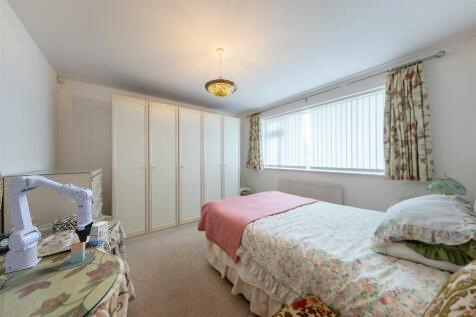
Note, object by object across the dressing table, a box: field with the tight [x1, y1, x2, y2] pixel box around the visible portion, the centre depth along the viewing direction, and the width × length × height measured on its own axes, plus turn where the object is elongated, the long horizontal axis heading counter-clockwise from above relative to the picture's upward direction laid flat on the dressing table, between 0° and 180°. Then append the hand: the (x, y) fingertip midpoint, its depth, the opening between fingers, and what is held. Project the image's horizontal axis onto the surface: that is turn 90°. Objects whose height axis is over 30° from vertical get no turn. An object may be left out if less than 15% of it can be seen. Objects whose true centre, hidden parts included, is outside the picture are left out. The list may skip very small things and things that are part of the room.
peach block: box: [70, 238, 86, 255], centre depth 90 cm, size 4×4×5 cm
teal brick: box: [70, 248, 86, 264], centre depth 90 cm, size 4×4×5 cm
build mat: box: [57, 251, 96, 272], centre depth 90 cm, size 12×12×1 cm
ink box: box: [89, 220, 109, 246], centre depth 110 cm, size 9×5×12 cm, turn 179°
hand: (85, 239), depth 91 cm, fingers open, 7 cm apart
